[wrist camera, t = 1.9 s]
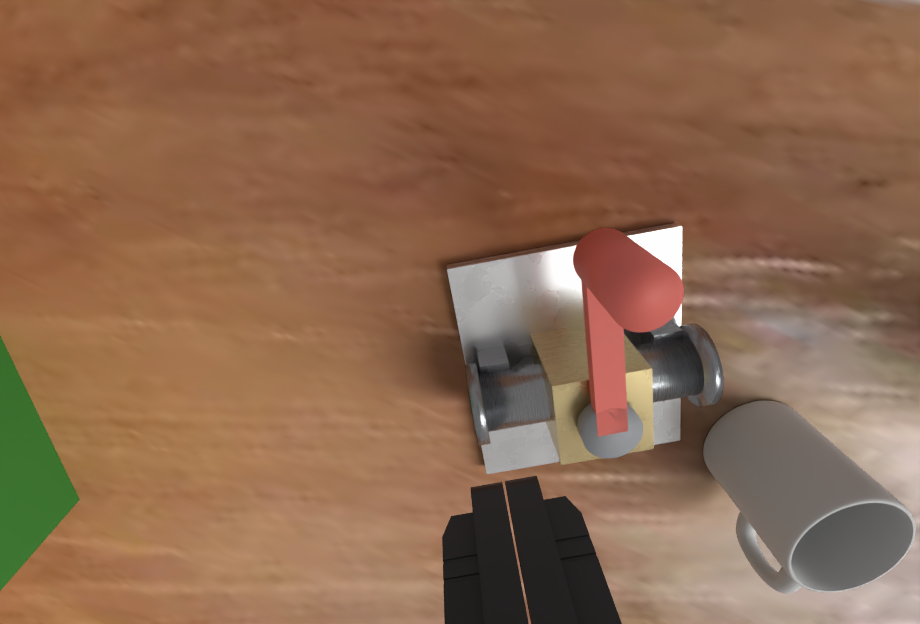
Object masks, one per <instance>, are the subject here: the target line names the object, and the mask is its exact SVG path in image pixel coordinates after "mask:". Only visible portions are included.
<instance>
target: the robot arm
mask: <svg viewBox="0 0 920 624" xmlns="http://www.w3.org/2000/svg"><path fill="white" fill-rule="evenodd" d="M505 485H506V490H507V496H508V502H509V507H510V513H511V519H512V524H513V530H514V535H515V541H516V546H517V552H518V557H519V562H520V567H521V573H522V578H523V583H524V588H525V593H526V599H527V604H528V609H529V614H530V619H531V624H622V623H621V621H620V618H619V615H618V612H617V610H616V607H615V604H614V601H613V599H612V596H611V593H610V590H609V588H608V585H607V582H606V579H605V577H604V574H603V571H602V568H601V566H600V563H599V560H598V557H597V556H596V552H595V549H594V546H593V544H592V541H591V539H590V536H589V533H588V530H587V527H586V524H585V522H584V519H583V516H582V513H581V512H580V511H579V510H578V509H577V508H576V507H575V506H574V505H573V504H572V503H571V502H570V501H569V500H568V499H567V498H566V496H563V497H558V498H552V499H546V500H543V496H542V493H541V489H540V486H539V482H538V479H537V476H532V477H527V478H521V479H515V480H510V481H505ZM471 498H472V507H473V513H467V514H461V515H456V516H451V518H450V520H449V523H448V525H447V527H446V530H445V532H444V535H443V537H442V542H443V563H444V564H443V578H444V614H445V624H528V618H527V613H526V608H525V602H524V597H523V591H522V586H521V581H520V575H519V570H518V565H517V559H516V554H515V549H514V543H513V538H512V533H511V527H510V522H509V517H508V511H507V506H506V500H505V495H504V490H503V484H502V482H499V483H493V484H488V485H482V486H476V487H471Z"/></svg>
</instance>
